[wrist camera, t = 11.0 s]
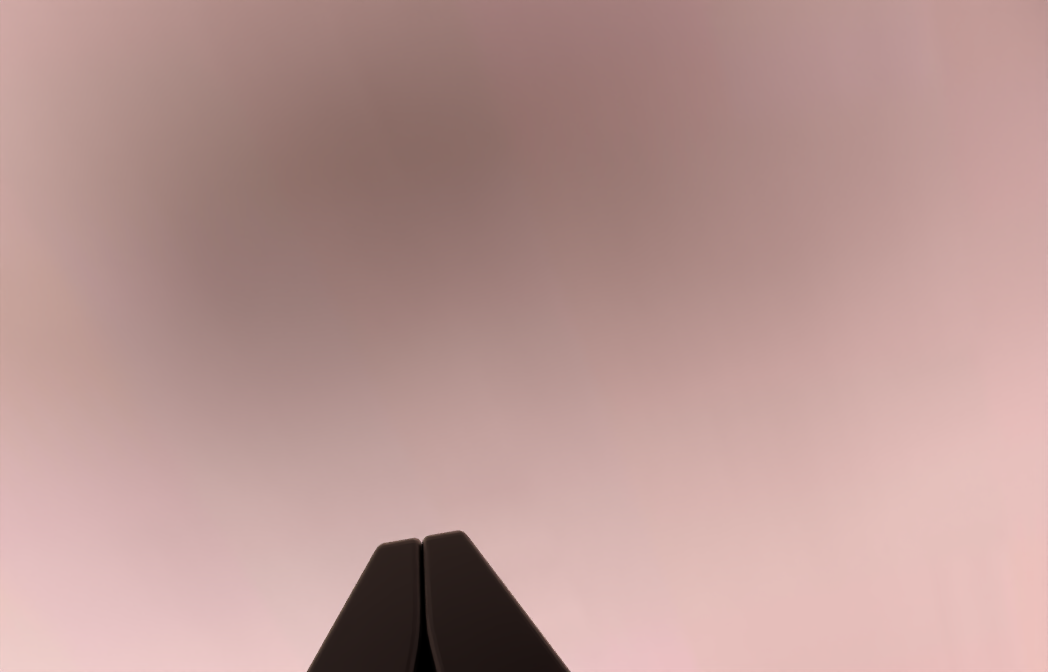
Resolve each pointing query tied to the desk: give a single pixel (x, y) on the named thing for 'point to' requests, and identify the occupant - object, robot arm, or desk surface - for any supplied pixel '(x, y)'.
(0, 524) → the desk surface
